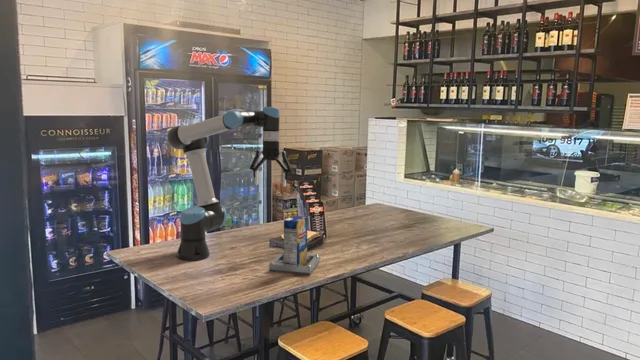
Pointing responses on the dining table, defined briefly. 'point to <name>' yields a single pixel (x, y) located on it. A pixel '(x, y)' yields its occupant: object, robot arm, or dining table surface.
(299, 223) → the beverage box
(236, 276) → the dining table surface
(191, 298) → the dining table surface
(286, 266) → the socket
